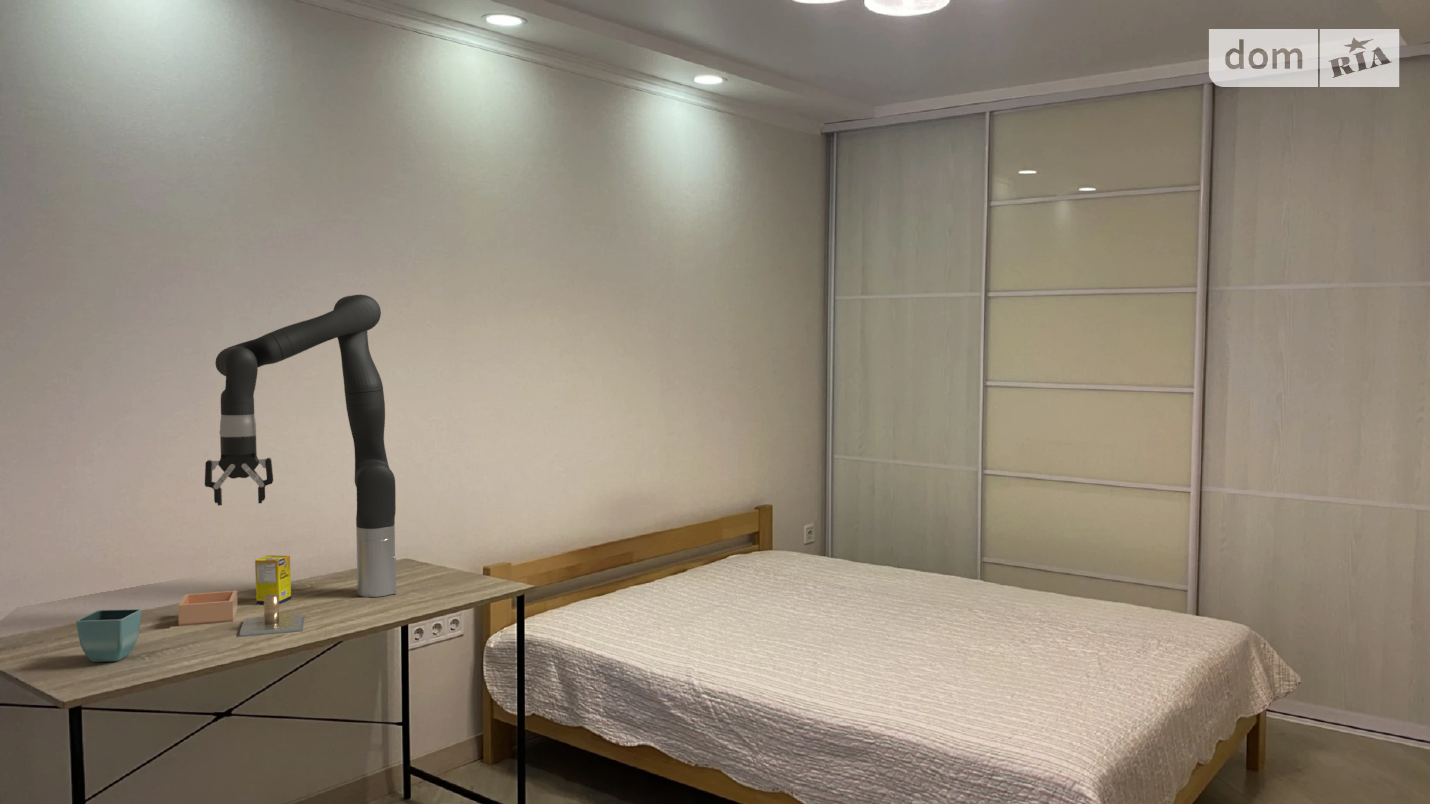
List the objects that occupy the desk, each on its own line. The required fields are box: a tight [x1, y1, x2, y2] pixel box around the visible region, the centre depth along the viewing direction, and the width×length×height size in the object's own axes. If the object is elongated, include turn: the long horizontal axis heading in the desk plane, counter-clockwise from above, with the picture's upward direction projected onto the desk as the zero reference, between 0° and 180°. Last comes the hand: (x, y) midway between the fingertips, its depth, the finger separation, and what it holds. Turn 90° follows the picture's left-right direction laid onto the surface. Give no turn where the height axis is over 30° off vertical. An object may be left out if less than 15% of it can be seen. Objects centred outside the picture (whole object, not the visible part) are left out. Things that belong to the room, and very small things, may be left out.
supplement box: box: [254, 554, 292, 605], centre depth 252 cm, size 6×6×11 cm
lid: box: [239, 594, 303, 637], centre depth 228 cm, size 12×12×7 cm
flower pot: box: [75, 608, 143, 663], centre depth 206 cm, size 9×9×9 cm
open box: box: [177, 590, 239, 627], centre depth 236 cm, size 11×11×5 cm
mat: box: [237, 616, 305, 638], centre depth 228 cm, size 13×13×1 cm
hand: (240, 504), depth 238 cm, fingers open, 8 cm apart
